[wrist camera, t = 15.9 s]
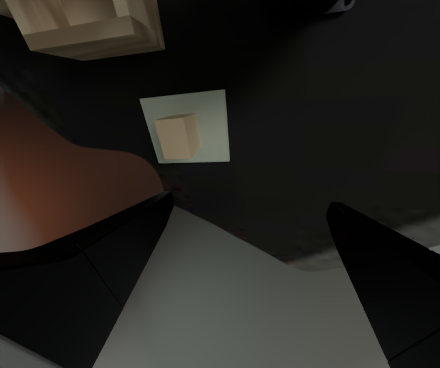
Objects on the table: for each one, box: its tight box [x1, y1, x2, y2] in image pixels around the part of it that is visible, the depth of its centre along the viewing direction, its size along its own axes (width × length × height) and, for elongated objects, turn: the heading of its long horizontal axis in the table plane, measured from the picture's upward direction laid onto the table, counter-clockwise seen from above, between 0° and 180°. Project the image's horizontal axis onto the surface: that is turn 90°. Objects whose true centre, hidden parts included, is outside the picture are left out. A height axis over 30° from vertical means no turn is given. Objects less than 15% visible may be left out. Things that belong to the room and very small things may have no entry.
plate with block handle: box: [140, 89, 230, 163], centre depth 18 cm, size 8×10×5 cm
